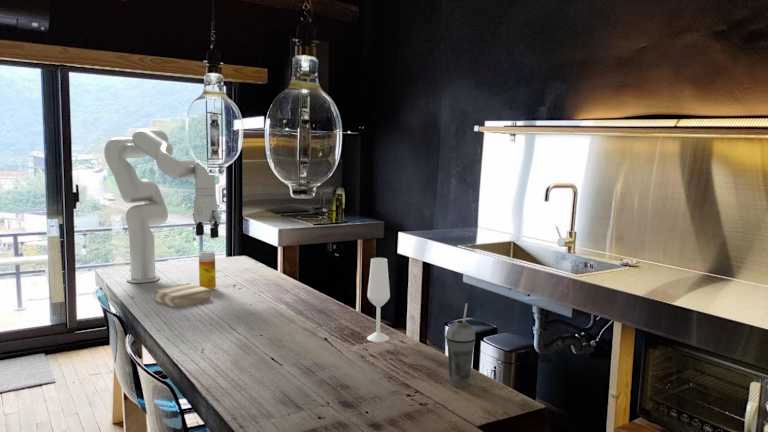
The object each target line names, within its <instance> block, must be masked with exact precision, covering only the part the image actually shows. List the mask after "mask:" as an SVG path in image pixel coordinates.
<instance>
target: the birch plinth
mask: <svg viewBox="0 0 768 432" xmlns="http://www.w3.org/2000/svg"><path fill="white" fill-rule="evenodd" d="M211 292H212V291H210V289H208V288H204V287H201V286H200V285H197V284H194V283H192V282H191V283H190V282H189V283H183V284H178V285H173V286H169V287H168V286H167V287H162V288H157V289H154V301H155V302H157V303H162V304H164V305H167V306H170V307H173V308H175V309H177V308H181V307H185V306H189V305H196V304H198V303H203V302H208V301H210V300H211V299H212V298H211Z"/></svg>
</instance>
